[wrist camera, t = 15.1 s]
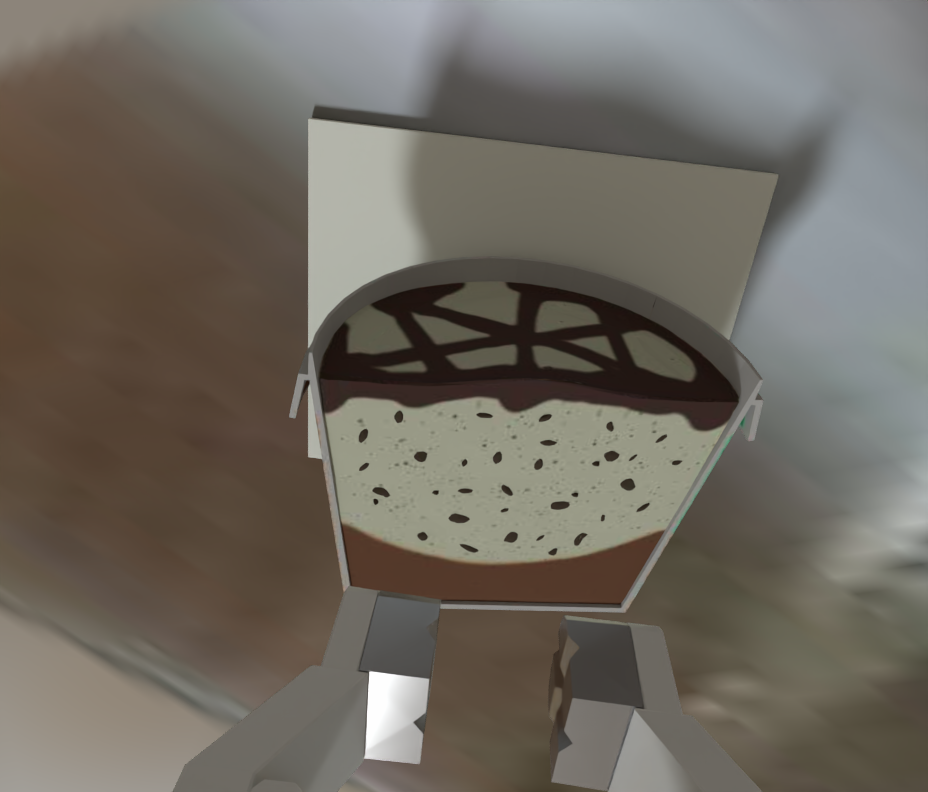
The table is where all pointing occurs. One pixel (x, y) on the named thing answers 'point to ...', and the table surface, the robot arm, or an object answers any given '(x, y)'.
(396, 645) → the robot arm
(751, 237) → the cream flat rectangular plate
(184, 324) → the table surface
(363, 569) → the food container
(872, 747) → the table surface
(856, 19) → the table surface
